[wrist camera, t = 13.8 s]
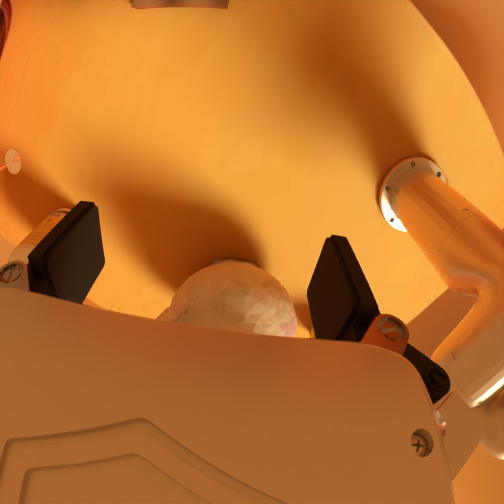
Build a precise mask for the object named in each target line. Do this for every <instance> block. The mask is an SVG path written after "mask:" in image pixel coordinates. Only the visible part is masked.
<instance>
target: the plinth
mask: <svg viewBox="0 0 504 504" xmlns="http://www.w3.org/2000/svg"><path fill="white" fill-rule="evenodd" d="M228 3H229V0H133V1H132V6H131V7H133V8H136V9H145V8H161V7H207V8H223V9H227V8H228Z"/></svg>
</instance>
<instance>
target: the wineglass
mask: <svg viewBox="0 0 504 504" xmlns="http://www.w3.org/2000/svg"><path fill="white" fill-rule="evenodd" d="M5 167H7V169H8V171H9V172H10V173H12V174H17V173H18V172H19V171H20V169H21V158H20V155H19V153H18V152H17V151H16V150H15V149H12V148H11V149H9V150H8V151H7V152H6V155H5V165H4V166H2V167H0V171H1V170H2V169H4V168H5Z"/></svg>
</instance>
